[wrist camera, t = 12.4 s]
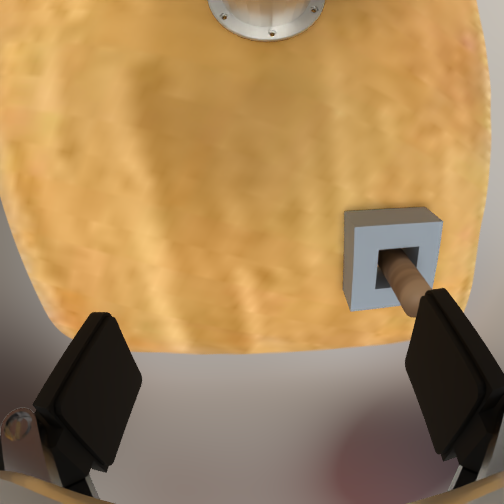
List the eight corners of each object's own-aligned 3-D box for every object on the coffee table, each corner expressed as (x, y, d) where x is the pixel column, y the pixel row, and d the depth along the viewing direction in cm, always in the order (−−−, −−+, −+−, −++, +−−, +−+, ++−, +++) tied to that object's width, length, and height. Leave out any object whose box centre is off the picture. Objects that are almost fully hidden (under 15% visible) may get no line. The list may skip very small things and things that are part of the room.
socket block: (344, 211, 36) (354, 227, 32) (425, 206, 35) (443, 221, 31) (342, 289, 41) (350, 311, 37) (415, 281, 40) (429, 301, 36)
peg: (372, 237, 38) (406, 289, 27) (397, 235, 37) (438, 285, 27) (370, 262, 39) (401, 319, 29) (395, 260, 39) (431, 314, 28)
